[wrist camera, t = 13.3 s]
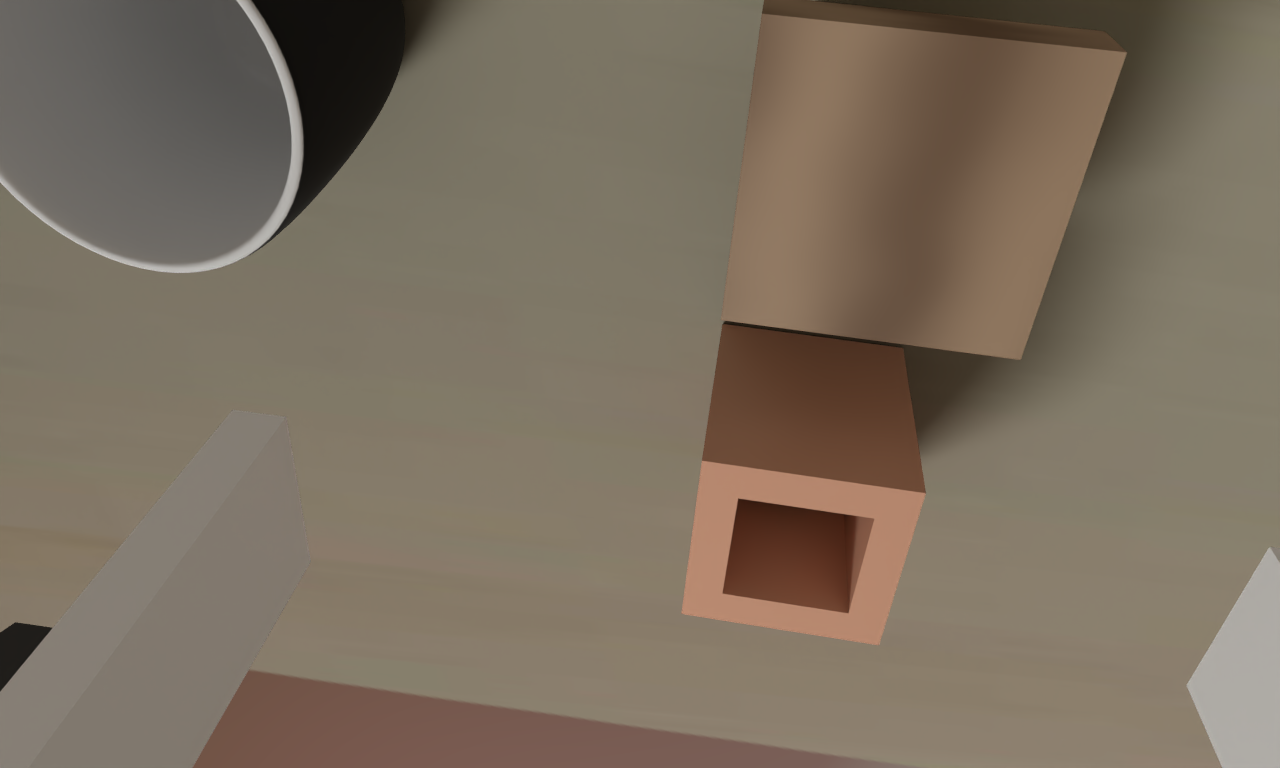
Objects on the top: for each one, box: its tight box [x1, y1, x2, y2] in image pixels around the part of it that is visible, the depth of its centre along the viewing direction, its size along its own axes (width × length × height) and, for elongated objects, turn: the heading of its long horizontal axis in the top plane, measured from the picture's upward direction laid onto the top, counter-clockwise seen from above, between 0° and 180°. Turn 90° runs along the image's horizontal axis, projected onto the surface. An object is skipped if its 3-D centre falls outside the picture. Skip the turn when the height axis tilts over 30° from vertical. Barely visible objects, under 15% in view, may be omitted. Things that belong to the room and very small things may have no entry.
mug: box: [0, 0, 405, 273], centre depth 26 cm, size 12×9×10 cm
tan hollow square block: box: [682, 324, 926, 645], centre depth 33 cm, size 6×6×8 cm
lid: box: [721, 0, 1127, 360], centre depth 26 cm, size 8×8×2 cm
